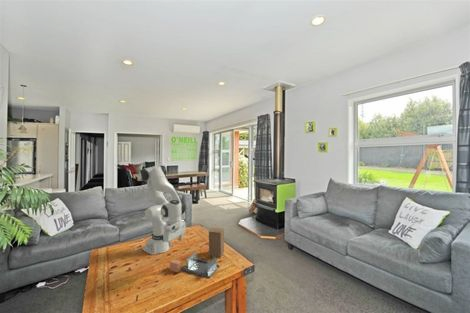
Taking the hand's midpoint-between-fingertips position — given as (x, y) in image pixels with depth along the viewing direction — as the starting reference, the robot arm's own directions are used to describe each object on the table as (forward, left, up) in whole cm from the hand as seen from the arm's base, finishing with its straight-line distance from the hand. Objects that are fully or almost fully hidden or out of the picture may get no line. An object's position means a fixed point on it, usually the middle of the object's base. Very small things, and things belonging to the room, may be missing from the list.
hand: (175, 243), depth 144 cm
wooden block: (+16, +31, -19) cm, 40 cm away
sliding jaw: (+8, +8, -18) cm, 21 cm away
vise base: (+16, +8, -19) cm, 26 cm away
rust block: (0, 0, -19) cm, 19 cm away
